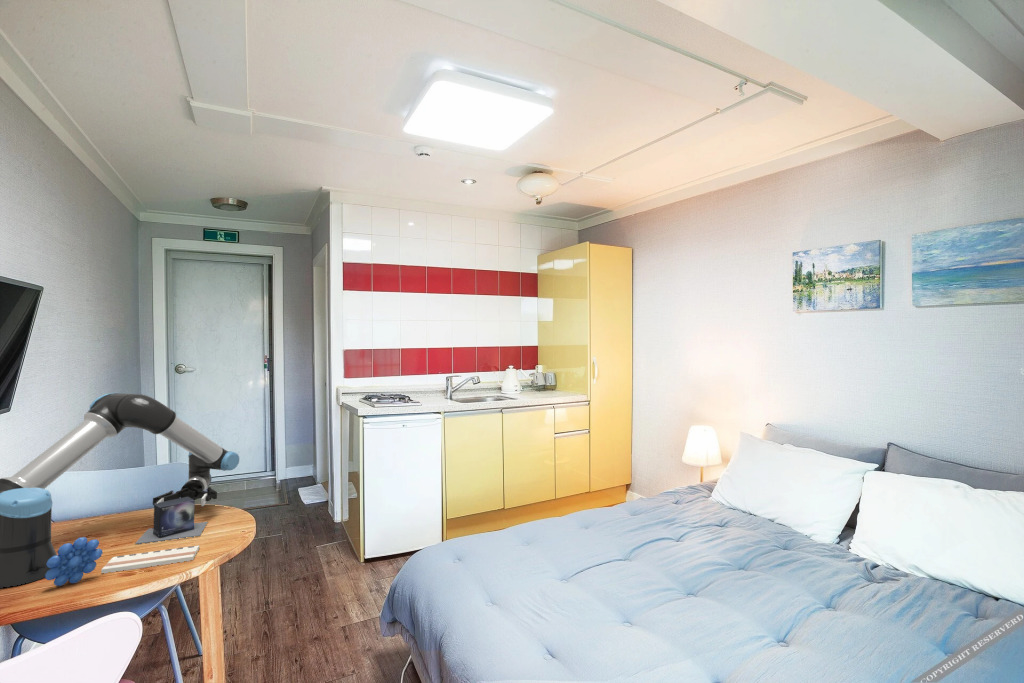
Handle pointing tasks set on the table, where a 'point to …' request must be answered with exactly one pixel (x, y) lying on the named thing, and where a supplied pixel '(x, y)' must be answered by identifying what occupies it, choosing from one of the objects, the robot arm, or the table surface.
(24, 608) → the table surface
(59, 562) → the blue bumpy cluster
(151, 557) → the board
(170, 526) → the small box
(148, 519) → the table surface
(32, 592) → the table surface
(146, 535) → the mat
